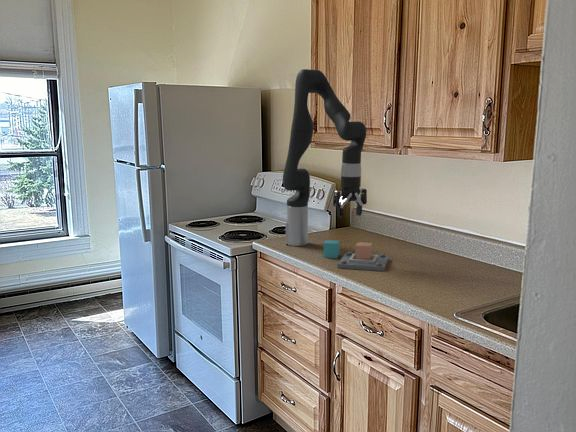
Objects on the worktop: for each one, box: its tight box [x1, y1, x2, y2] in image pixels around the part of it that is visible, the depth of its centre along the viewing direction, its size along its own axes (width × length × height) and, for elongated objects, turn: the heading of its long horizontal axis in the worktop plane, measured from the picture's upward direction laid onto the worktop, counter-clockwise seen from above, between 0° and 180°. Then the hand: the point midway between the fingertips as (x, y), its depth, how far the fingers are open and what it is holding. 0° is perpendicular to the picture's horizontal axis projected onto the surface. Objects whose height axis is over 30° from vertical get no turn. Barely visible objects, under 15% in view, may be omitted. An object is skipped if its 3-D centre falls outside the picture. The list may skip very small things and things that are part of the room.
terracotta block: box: [354, 241, 373, 260], centre depth 201 cm, size 6×6×6 cm
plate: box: [336, 251, 389, 272], centre depth 201 cm, size 17×17×2 cm
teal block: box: [322, 239, 341, 259], centre depth 212 cm, size 6×6×6 cm
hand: (349, 216), depth 205 cm, fingers open, 8 cm apart
